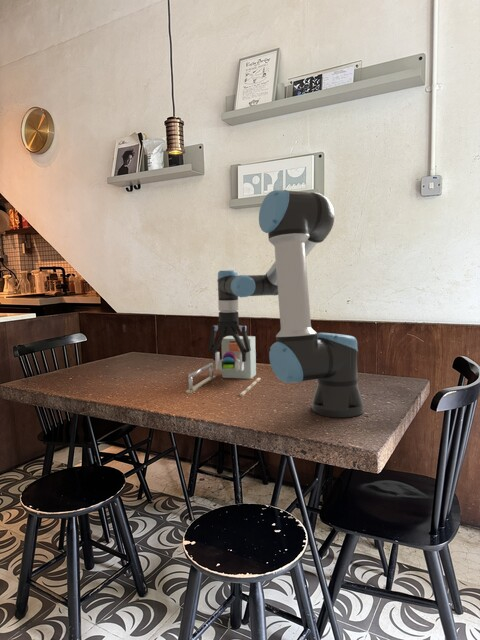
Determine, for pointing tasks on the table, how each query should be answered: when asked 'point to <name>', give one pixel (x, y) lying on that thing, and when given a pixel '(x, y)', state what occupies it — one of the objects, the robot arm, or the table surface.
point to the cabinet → (248, 364)
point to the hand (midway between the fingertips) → (229, 369)
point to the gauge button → (233, 346)
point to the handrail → (193, 388)
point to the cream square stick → (250, 387)
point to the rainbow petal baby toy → (229, 362)
